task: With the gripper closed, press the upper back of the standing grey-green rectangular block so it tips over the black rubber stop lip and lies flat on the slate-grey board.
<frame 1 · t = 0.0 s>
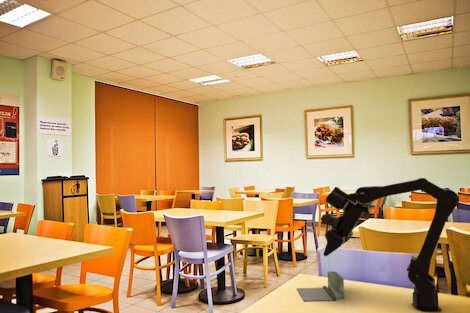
hand: (327, 253, 134), 15 cm above the table, tool tilted 35°, fingers open, 9 cm apart
grey-green rectangular block: (335, 294, 133), on the table
slate board: (313, 294, 133), on the table
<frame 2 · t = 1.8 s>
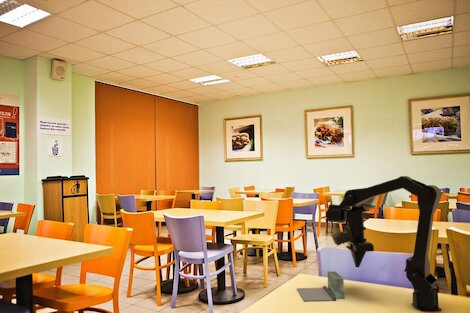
hand: (357, 267, 134), 10 cm above the table, tool pointing down, fingers closed
nothing on the table moved.
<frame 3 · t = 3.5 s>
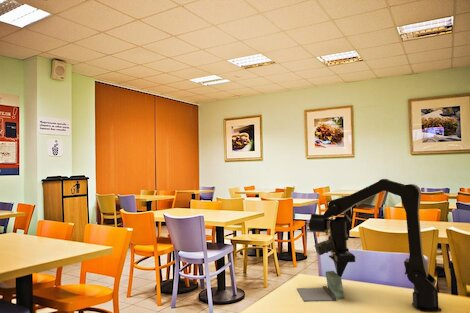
hand: (339, 276, 134), 6 cm above the table, tool pointing down, fingers closed
grey-green rectangular block: (335, 294, 133), on the table, tilted 7°
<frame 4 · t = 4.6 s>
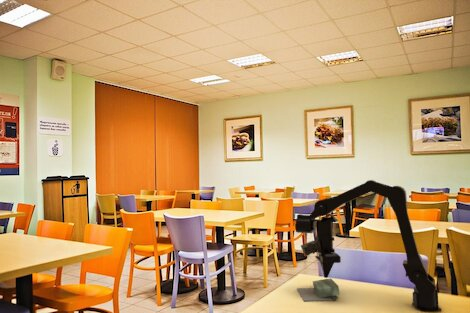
hand: (325, 277, 134), 6 cm above the table, tool pointing down, fingers closed
grey-green rectangular block: (335, 286, 133), point 3 cm above the table, tilted 99°, touching slate board
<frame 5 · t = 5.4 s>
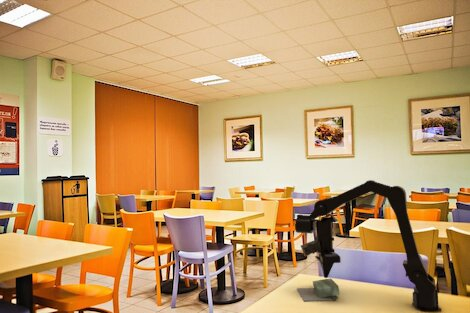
hand: (325, 277, 134), 6 cm above the table, tool pointing down, fingers closed
nothing on the table moved.
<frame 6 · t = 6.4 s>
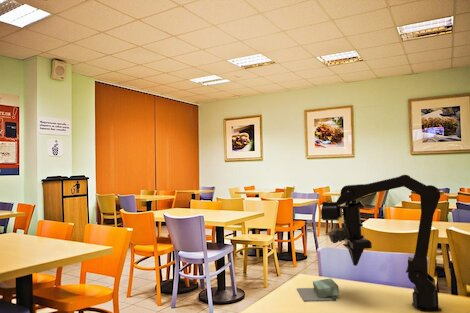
hand: (355, 265, 129), 11 cm above the table, tool pointing down, fingers closed
nothing on the table moved.
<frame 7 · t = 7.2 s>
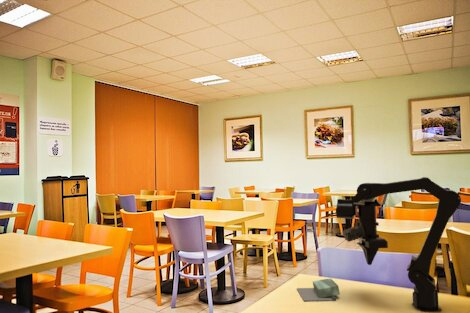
hand: (369, 264, 127), 12 cm above the table, tool pointing down, fingers closed
nothing on the table moved.
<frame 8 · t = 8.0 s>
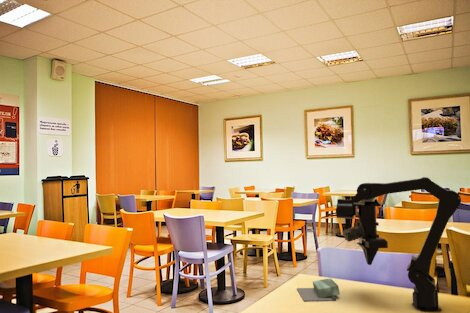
hand: (369, 264, 127), 12 cm above the table, tool pointing down, fingers closed
nothing on the table moved.
at the end: grey-green rectangular block tilted 99°; grey-green rectangular block inside the target area (3.8 cm from its centre), point 3.0 cm above the table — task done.
